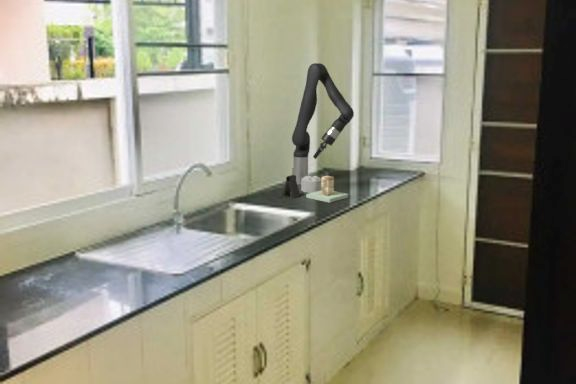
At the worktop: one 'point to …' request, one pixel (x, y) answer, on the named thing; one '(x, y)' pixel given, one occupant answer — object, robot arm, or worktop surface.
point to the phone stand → (291, 187)
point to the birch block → (327, 185)
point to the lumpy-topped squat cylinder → (310, 184)
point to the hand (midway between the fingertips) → (314, 157)
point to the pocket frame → (325, 198)
